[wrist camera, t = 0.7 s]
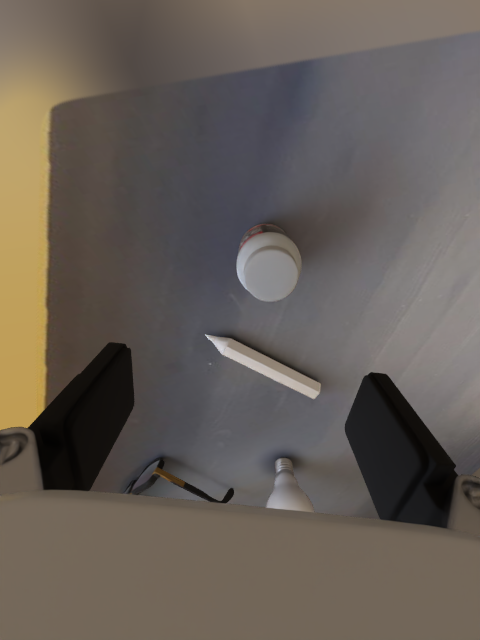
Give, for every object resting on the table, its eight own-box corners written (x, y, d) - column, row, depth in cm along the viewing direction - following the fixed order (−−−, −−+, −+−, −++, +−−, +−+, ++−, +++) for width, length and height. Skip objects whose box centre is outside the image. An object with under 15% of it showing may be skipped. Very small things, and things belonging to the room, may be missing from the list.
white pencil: (206, 327, 33) (314, 380, 36) (199, 342, 33) (307, 395, 36) (209, 327, 31) (324, 385, 33) (200, 343, 30) (317, 400, 33)
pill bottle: (249, 214, 27) (250, 226, 18) (298, 234, 27) (323, 254, 19) (231, 265, 29) (224, 297, 20) (277, 282, 30) (290, 320, 21)
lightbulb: (256, 467, 43) (259, 550, 33) (272, 441, 40) (279, 522, 30) (292, 477, 44) (306, 561, 34) (310, 452, 41) (330, 535, 31)
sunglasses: (188, 524, 50) (182, 556, 46) (115, 490, 47) (101, 522, 42) (234, 488, 45) (232, 521, 41) (156, 447, 42) (145, 479, 37)
